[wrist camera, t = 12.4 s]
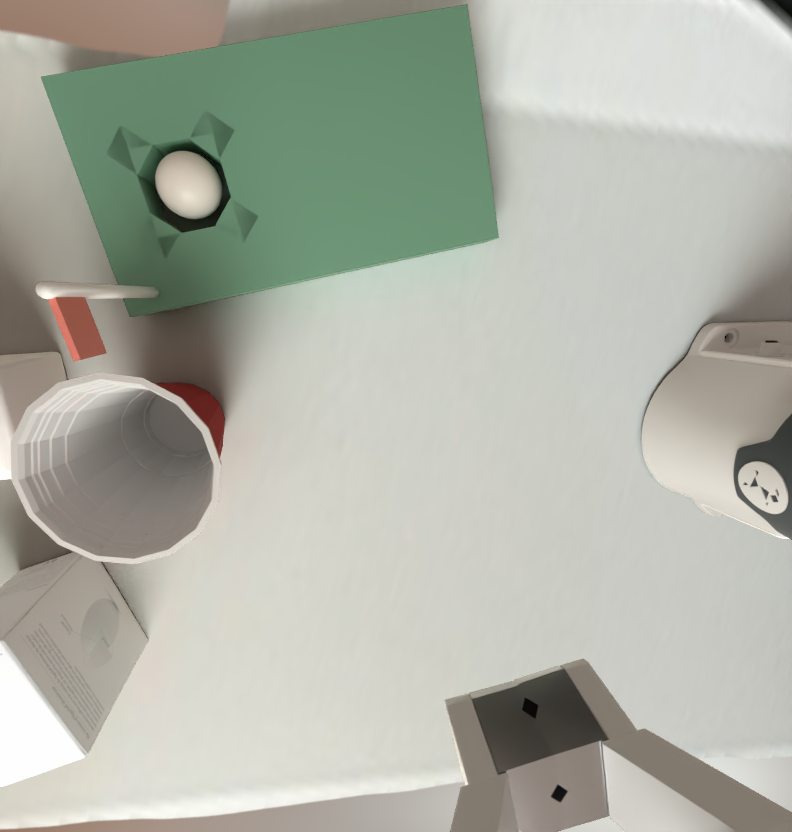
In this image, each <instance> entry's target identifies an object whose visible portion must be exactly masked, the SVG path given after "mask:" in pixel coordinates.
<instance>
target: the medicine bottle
mask: <svg viewBox="0 0 792 832" xmlns="http://www.w3.org/2000/svg"><path fill="white" fill-rule="evenodd" d="M66 380H67V378H66V374H65V370H64V366H63V362H62V358H61V355H60V354H59V353H58V352H40V353H26V354H12V355H0V480H6V479H11V440H12V438H13V436H14V434H15V432H16V430H17V428H18V425H19V423H20V421H21V419H22V417H23V415H24V413H25V411H26V408H27V407H28V406H29V405H31V404H32V403H33V402H34V401H36V400H37V399H38V398H39V397H41V396H42V395H43V394H44V393H46V392H47V391H48V390H49V389H51V388H52V387H53V386H55V385H56V384H57V383H59V382H63V381H66Z"/></svg>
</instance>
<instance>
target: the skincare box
mask: <svg viewBox="0 0 792 832" xmlns="http://www.w3.org/2000/svg"><path fill="white" fill-rule="evenodd" d="M147 643H148V639H147V637H146V635H145V634H144V632H143V630H142V629H141V627H140V625H139V624H138V622H137V620H136V619H135V617H134V615H133V614H132V612H131V610H130V609H129V607H128V606H127V604H126V602H125V601H124V599H123V597H122V596H121V594H120V592H119V591H118V589H117V587H116V586H115V584H114V582H113V581H112V579H111V578H110V576H109V574H108V573H107V571H106V570H105V568H104V566H103V565H102V563H101V561H94V560H92V559H90V558H88V557H85V556H83V555H81V554H78V553H76V552H72V553H69V554H66V555H63V556H60V557H57V558H54V559H51V560H48V561H46V562H43V563H40V564H37V565H34V566H31V567H28V568H26V569H23V570H20V571H19V572H18V573H17V574H15V575H14V576H13V577H12V578H11V579H10V580H9V581H8V582H7V583H5V584H4V585H3V586H2V587H1V588H0V787H3V786H6V785H9V784H12V783H15V782H18V781H21V780H24V779H26V778H29V777H32V776H35V775H38V774H40V773H43V772H46V771H49V770H52V769H54V768H57V767H60V766H63V765H66V764H68V763H71V762H74V761H77V760H80V759H82V758H85V757H86V756H87V754H88V753H89V752H90V750H91V748H92V746H93V744H94V742H95V740H96V738H97V736H98V734H99V732H100V730H101V728H102V726H103V724H104V722H105V720H106V718H107V716H108V715H109V713H110V711H111V709H112V707H113V705H114V703H115V701H116V699H117V697H118V696H119V694H120V692H121V690H122V688H123V686H124V684H125V682H126V681H127V679H128V677H129V675H130V673H131V671H132V669H133V668H134V666H135V664H136V662H137V660H138V659H139V657H140V655H141V653H142V651H143V650H144V648H145V646H146V645H147Z"/></svg>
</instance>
